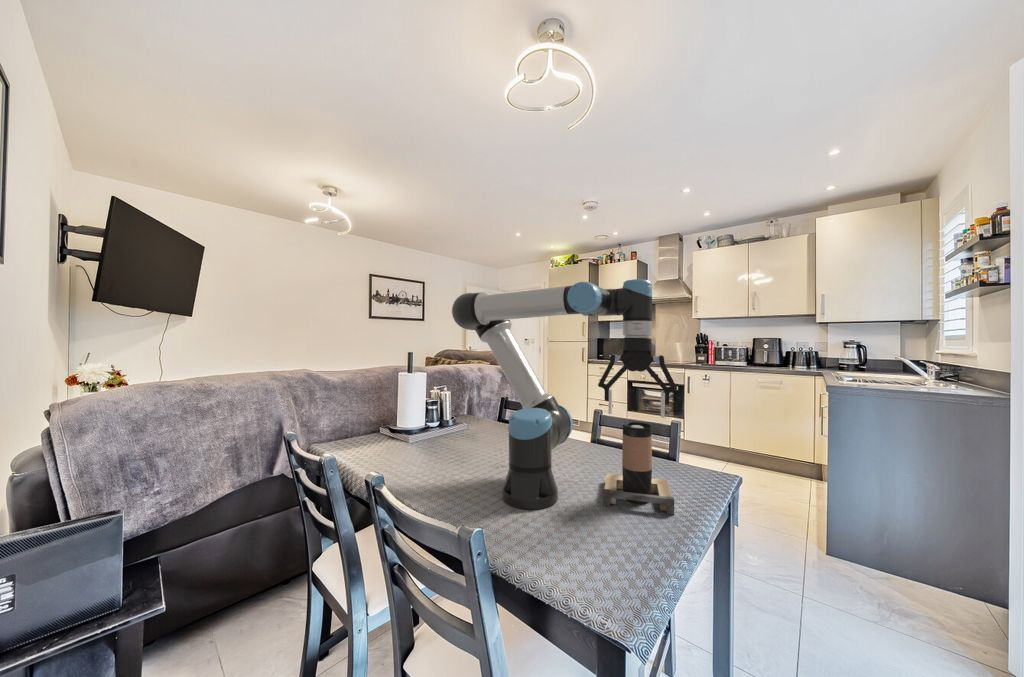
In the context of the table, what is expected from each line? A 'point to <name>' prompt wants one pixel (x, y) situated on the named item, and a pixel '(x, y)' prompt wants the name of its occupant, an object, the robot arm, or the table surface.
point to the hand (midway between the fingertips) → (635, 415)
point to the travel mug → (637, 459)
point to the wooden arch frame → (656, 486)
